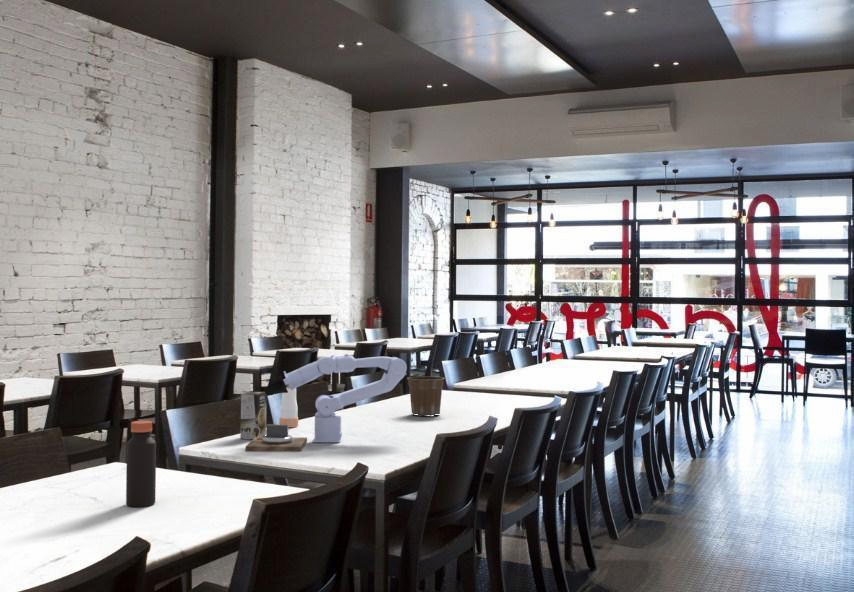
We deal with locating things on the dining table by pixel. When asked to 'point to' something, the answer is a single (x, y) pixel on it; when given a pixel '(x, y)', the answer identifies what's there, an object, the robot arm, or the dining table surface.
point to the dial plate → (277, 445)
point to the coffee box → (253, 415)
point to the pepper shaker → (289, 409)
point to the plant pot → (425, 394)
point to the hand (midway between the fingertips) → (265, 392)
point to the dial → (276, 434)
